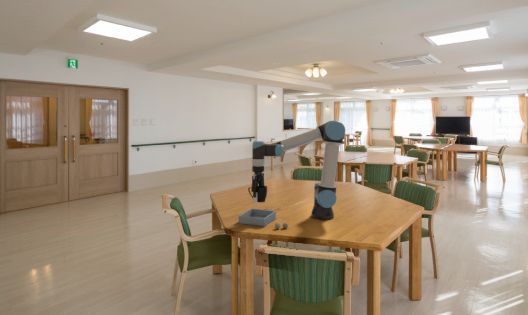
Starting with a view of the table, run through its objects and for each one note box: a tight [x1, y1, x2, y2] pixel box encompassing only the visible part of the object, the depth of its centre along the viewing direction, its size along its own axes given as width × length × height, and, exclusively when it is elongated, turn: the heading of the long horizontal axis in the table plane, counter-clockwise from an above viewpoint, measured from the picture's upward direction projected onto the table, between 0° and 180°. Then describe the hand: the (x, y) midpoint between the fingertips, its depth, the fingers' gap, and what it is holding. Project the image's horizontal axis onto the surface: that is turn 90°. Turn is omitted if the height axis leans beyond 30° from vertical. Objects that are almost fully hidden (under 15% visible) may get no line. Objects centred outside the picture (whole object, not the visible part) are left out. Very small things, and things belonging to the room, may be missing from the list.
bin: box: [238, 207, 277, 228], centre depth 210 cm, size 18×20×5 cm
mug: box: [248, 185, 268, 203], centre depth 208 cm, size 8×12×10 cm
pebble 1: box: [274, 222, 281, 230], centre depth 195 cm, size 3×3×3 cm
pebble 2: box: [282, 222, 289, 229], centre depth 195 cm, size 3×3×3 cm
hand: (258, 200), depth 209 cm, fingers closed on mug, 8 cm apart
